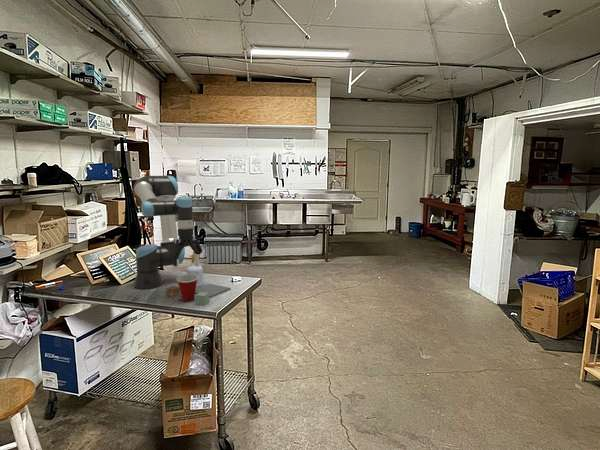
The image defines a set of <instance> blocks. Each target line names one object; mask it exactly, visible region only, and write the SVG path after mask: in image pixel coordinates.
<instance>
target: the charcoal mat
mask: <svg viewBox="0 0 600 450" xmlns="http://www.w3.org/2000/svg"><path fill="white" fill-rule="evenodd" d="M230 290H231V287H229V286H223V285H218V284H214V283H213V284H212V283H206V284H203V285H202V286H200V287H196V291H195V295H196V294H198V293H199V292H207V293H209V299H212V298H214V297H216V296H218V295H221V294H223V293H226V292H228V291H230Z"/></svg>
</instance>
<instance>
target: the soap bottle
mask: <svg viewBox="0 0 600 450" xmlns="http://www.w3.org/2000/svg"><path fill="white" fill-rule="evenodd" d="M192 251H193V250H192ZM194 254H196V253H195V252H194V251H193V254H191V255H189V257H190V258H192V259H191V264H190V265H188V266H187V267H186V275H189V274H192V275H197V276H198V279H197V283H196V288H198V287H201V286H204V269H203V266H202V265H201V264H199V267H196V266H195V265H194Z"/></svg>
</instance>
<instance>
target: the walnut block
mask: <svg viewBox="0 0 600 450" xmlns="http://www.w3.org/2000/svg"><path fill="white" fill-rule="evenodd" d="M180 296H181V292H180V288H179V285H170V286H167V287H165V297H166V298H170V299H175V298H178V297H180Z"/></svg>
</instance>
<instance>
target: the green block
mask: <svg viewBox="0 0 600 450" xmlns="http://www.w3.org/2000/svg"><path fill="white" fill-rule="evenodd" d="M194 301H195V305H198V306H206V305H208V304H209V303H210V298H209V293H207V292H199V293H198V294H195V297H194Z"/></svg>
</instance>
